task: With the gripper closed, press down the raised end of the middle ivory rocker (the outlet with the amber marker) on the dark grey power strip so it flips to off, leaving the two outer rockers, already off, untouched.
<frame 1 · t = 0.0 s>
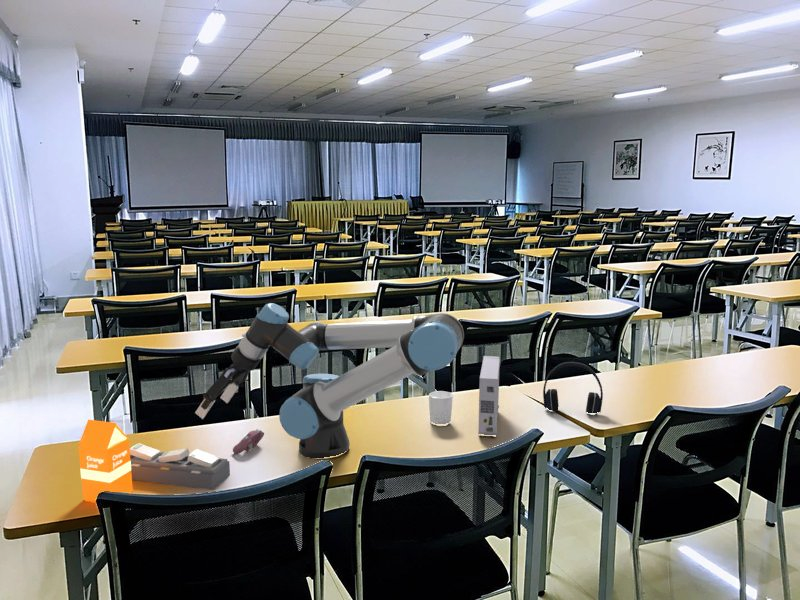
hand: (212, 407, 181), 15 cm above the table, tool tilted 35°, fingers open, 13 cm apart
rocker 2: (173, 455, 170), point 6 cm above the table, hinge at 14.0°
power strip: (175, 476, 171), on the table
game console: (489, 424, 210), on the table
rocker 3: (144, 452, 173), point 6 cm above the table, hinge at -14.0°
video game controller: (249, 449, 190), on the table
orange juice: (108, 496, 160), on the table
rocker 1: (203, 458, 168), point 6 cm above the table, hinge at -14.0°
white cup: (440, 423, 211), on the table
headphones: (571, 413, 221), on the table
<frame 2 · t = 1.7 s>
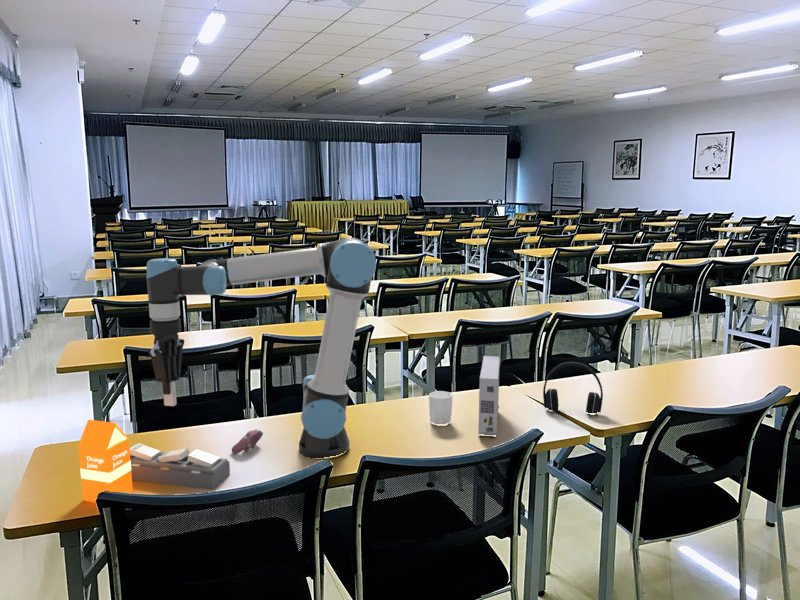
hand: (170, 404, 168), 20 cm above the table, tool pointing down, fingers closed
nothing on the table moved.
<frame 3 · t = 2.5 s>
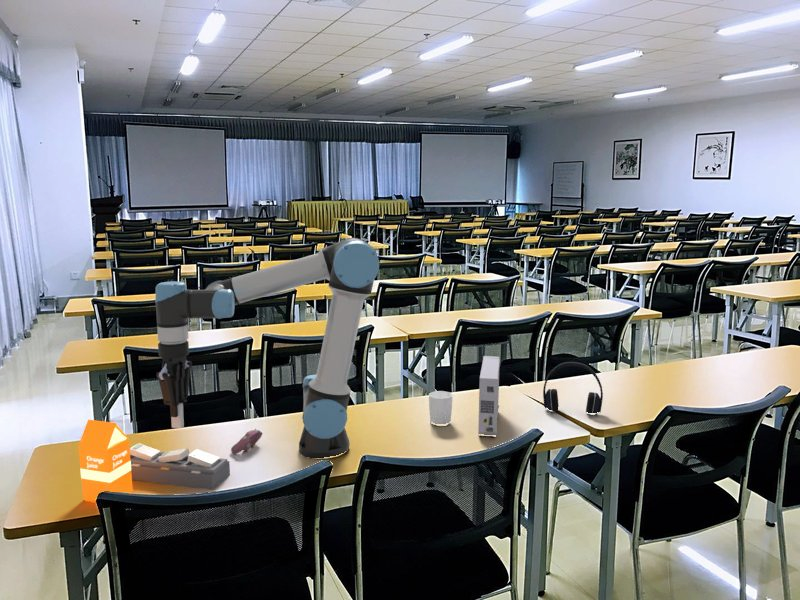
hand: (177, 426, 169), 14 cm above the table, tool pointing down, fingers closed
nothing on the table moved.
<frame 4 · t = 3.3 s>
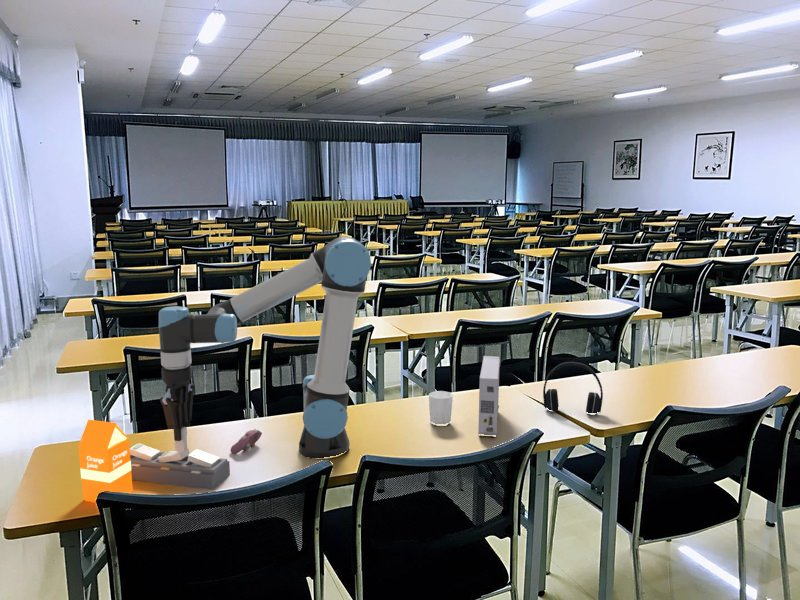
hand: (181, 450, 170), 8 cm above the table, tool pointing down, fingers closed
rocker 2: (173, 455, 170), point 6 cm above the table, hinge at 14.0°, touching gripper
everything else where it was.
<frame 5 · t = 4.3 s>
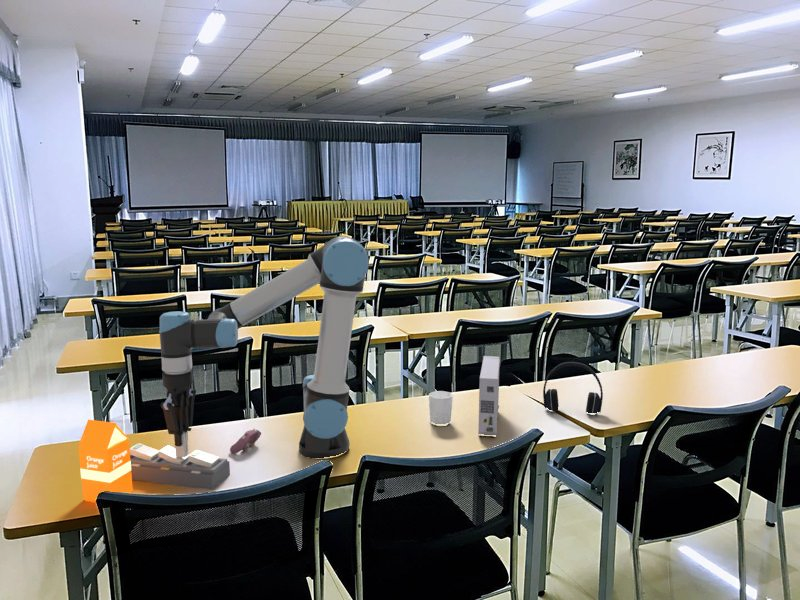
hand: (182, 455, 169), 6 cm above the table, tool pointing down, fingers closed
rocker 2: (173, 455, 170), point 6 cm above the table, hinge at -20.0°, touching gripper
rocker 1: (203, 458, 168), point 6 cm above the table, hinge at -12.4°
everything else where it was.
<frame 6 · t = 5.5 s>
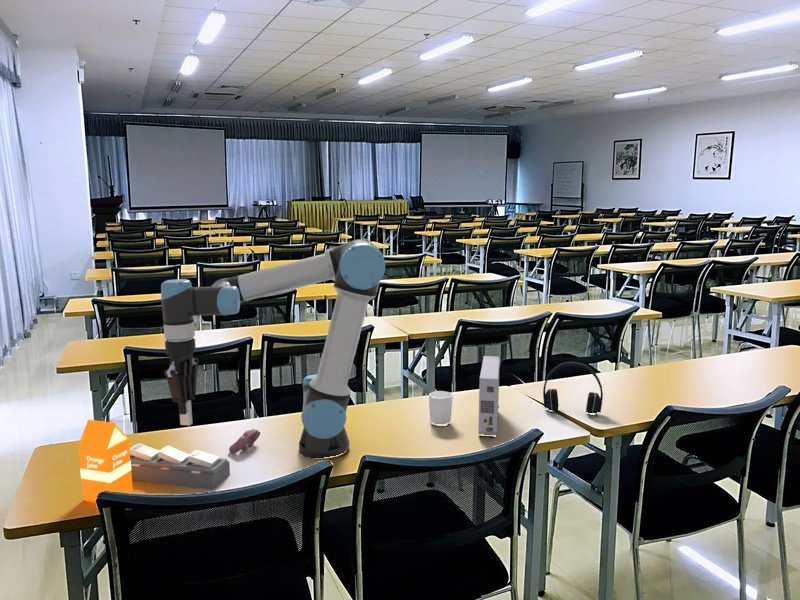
hand: (186, 424, 169), 15 cm above the table, tool pointing down, fingers closed
rocker 2: (173, 455, 170), point 6 cm above the table, hinge at -17.7°
rocker 1: (203, 458, 168), point 6 cm above the table, hinge at -11.5°
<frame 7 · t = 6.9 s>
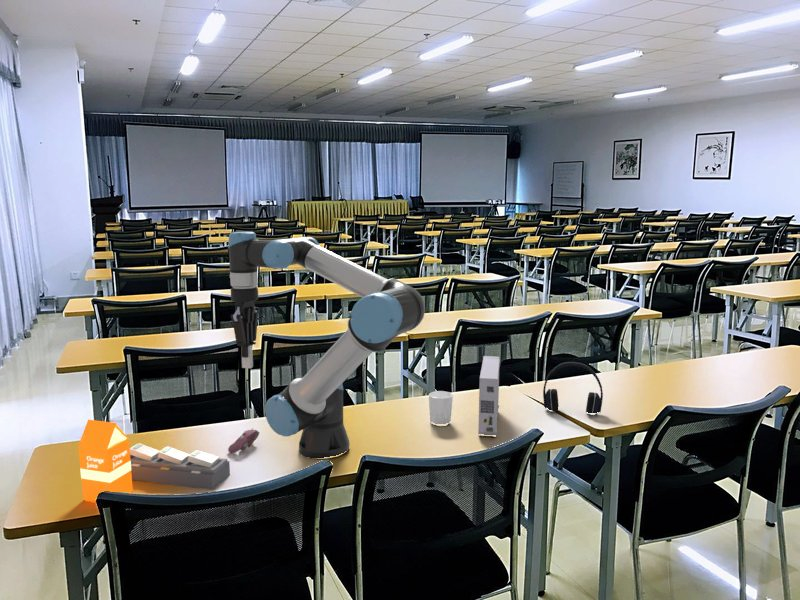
hand: (247, 367, 182), 26 cm above the table, tool pointing down, fingers closed
rocker 2: (173, 455, 170), point 6 cm above the table, hinge at -14.2°
rocker 1: (203, 458, 168), point 6 cm above the table, hinge at -11.0°
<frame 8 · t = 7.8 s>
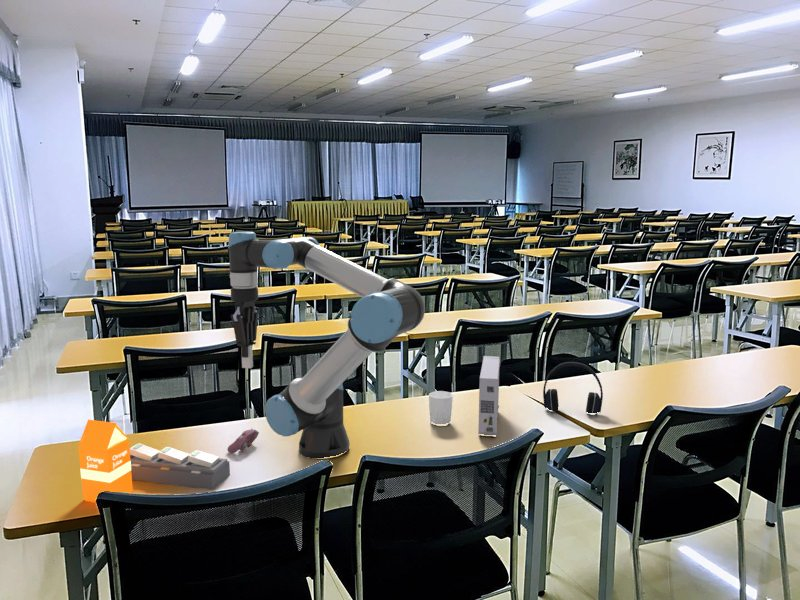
hand: (247, 367, 182), 26 cm above the table, tool pointing down, fingers closed
rocker 2: (173, 455, 170), point 6 cm above the table, hinge at -13.0°
at the end: rocker 2 at -13° (first picture: +14°); rocker 1 at -11° (first picture: -14°); rocker 3 at -14° (first picture: -14°) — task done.
